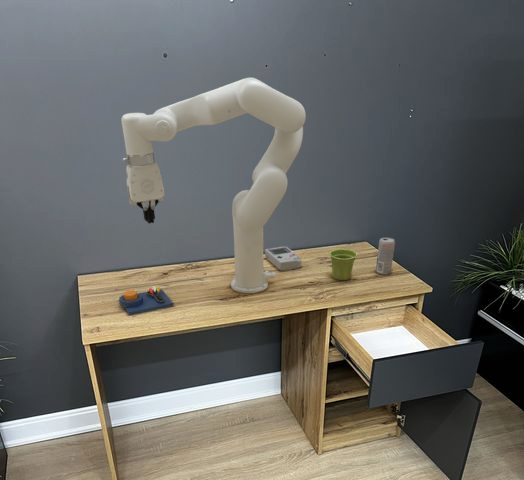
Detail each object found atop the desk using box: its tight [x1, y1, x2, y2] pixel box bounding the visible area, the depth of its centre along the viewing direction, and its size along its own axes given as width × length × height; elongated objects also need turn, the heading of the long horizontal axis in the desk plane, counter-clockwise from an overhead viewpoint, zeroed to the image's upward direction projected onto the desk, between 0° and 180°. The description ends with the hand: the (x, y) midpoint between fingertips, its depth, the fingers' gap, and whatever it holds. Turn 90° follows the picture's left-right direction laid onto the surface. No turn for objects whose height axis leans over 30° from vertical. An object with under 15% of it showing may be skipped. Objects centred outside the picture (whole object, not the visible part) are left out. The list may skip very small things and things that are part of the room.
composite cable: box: [146, 284, 165, 303], centre depth 163 cm, size 10×5×2 cm, turn 22°
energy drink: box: [375, 237, 396, 276], centre depth 181 cm, size 5×5×12 cm
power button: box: [123, 289, 138, 301], centre depth 160 cm, size 4×4×2 cm
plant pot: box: [328, 248, 358, 281], centre depth 178 cm, size 9×9×9 cm
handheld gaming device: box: [264, 245, 302, 272], centre depth 191 cm, size 9×15×4 cm, turn 22°
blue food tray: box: [118, 288, 174, 316], centre depth 163 cm, size 15×12×3 cm
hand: (150, 221), depth 158 cm, fingers closed
